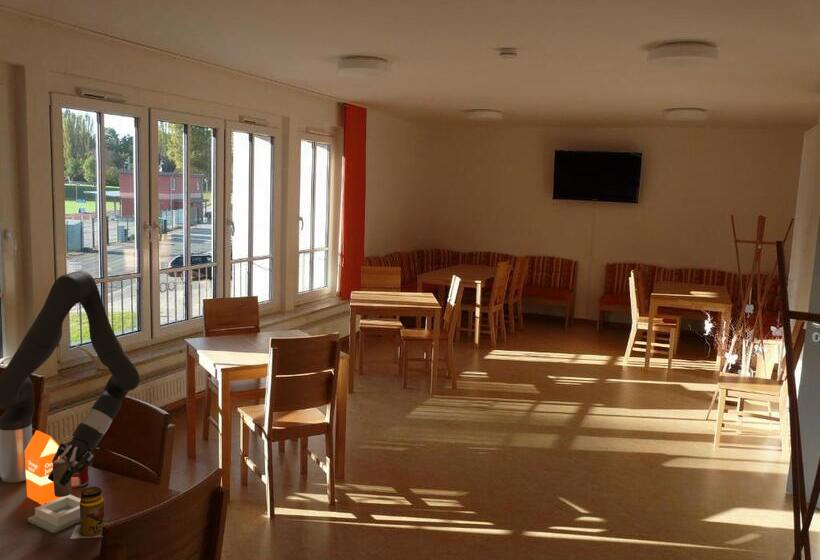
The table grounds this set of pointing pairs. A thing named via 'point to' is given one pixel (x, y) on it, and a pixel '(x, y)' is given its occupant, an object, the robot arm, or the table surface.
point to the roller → (58, 471)
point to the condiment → (90, 514)
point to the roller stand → (57, 514)
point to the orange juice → (40, 467)
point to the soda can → (80, 478)
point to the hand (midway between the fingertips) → (56, 482)
